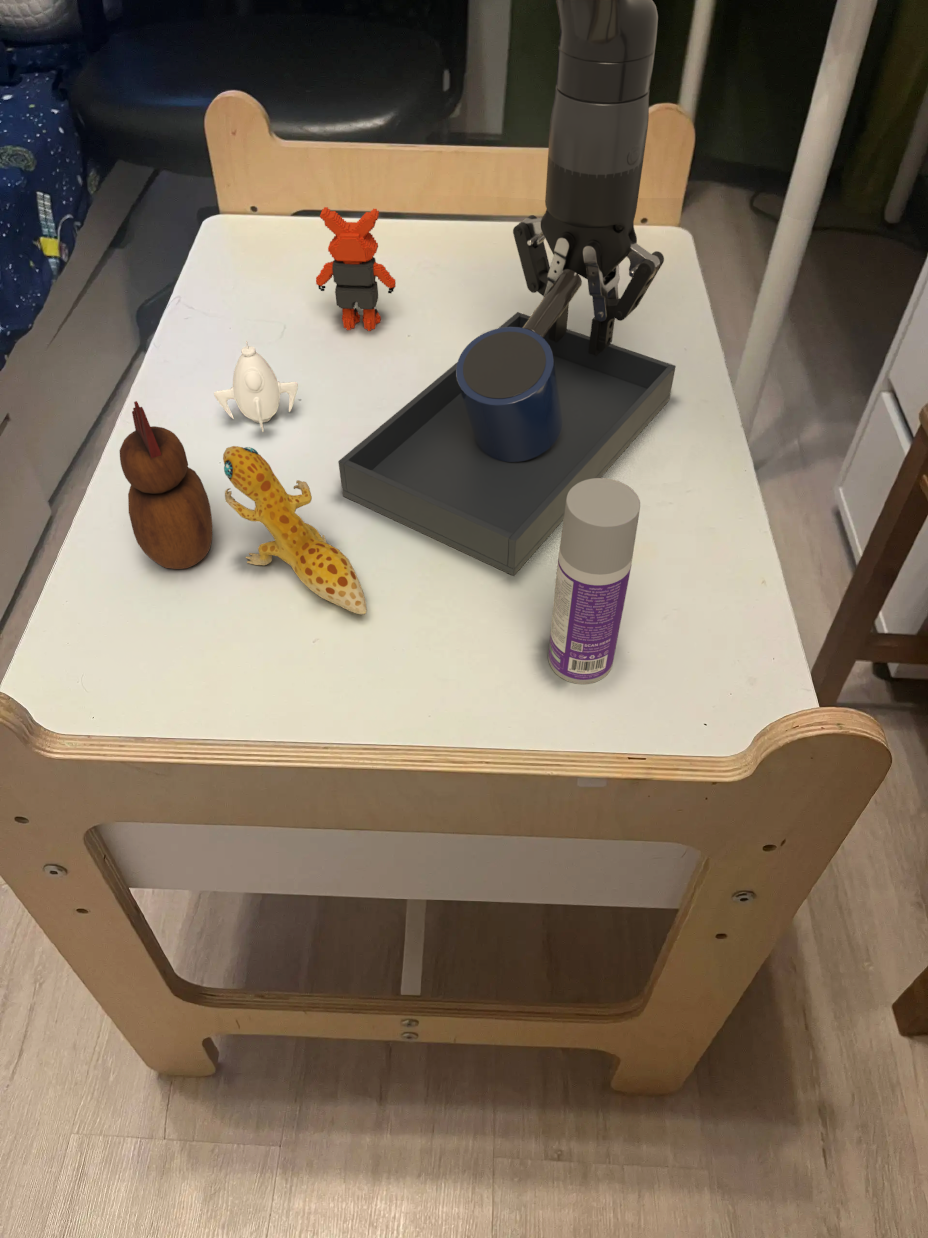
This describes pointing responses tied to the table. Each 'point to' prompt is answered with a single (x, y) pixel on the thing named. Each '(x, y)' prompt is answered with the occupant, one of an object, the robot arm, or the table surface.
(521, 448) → the blue saucepan
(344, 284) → the toy animal
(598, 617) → the container
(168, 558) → the wooden figurine
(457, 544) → the tray
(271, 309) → the table surface
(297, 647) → the table surface
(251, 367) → the rocket toy
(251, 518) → the toy
